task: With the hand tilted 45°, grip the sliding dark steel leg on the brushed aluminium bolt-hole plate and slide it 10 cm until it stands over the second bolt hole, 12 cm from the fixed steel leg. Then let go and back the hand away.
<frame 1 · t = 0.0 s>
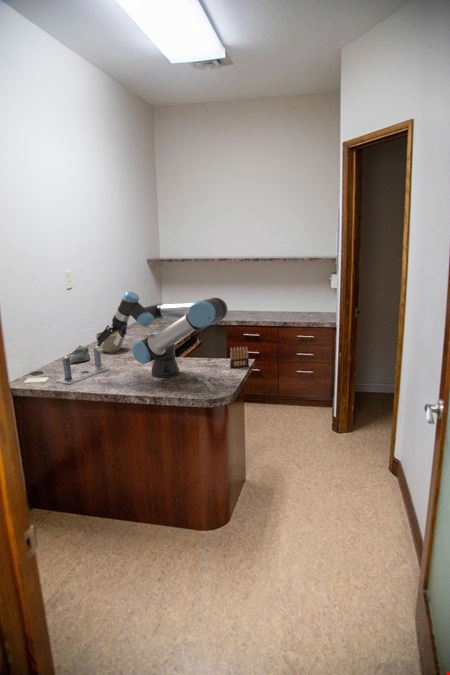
hand: (106, 347, 245), 15 cm above the worktop, tool tilted 35°, fingers open, 13 cm apart
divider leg: (97, 356, 255), point 8 cm above the worktop, slide at -10.0 cm
bolt plate: (84, 375, 248), on the worktop
flower pot: (111, 351, 298), on the worktop
ammunition clip: (239, 367, 254), on the worktop
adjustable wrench: (206, 386, 225), on the worktop
mineral rock: (79, 361, 275), on the worktop
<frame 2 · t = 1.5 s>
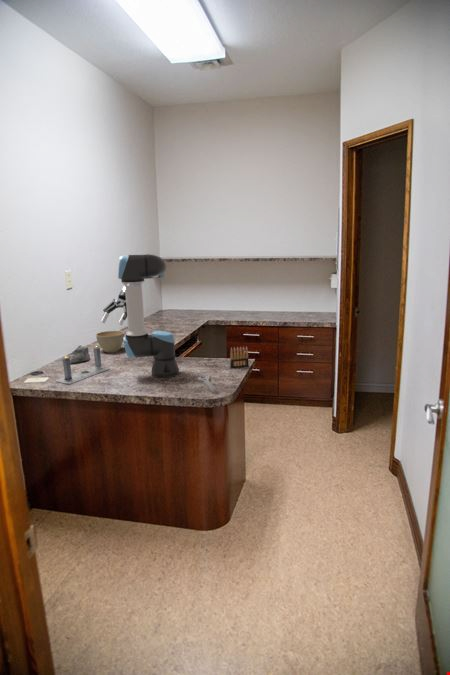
hand: (111, 323, 263), 25 cm above the worktop, tool tilted 45°, fingers open, 13 cm apart
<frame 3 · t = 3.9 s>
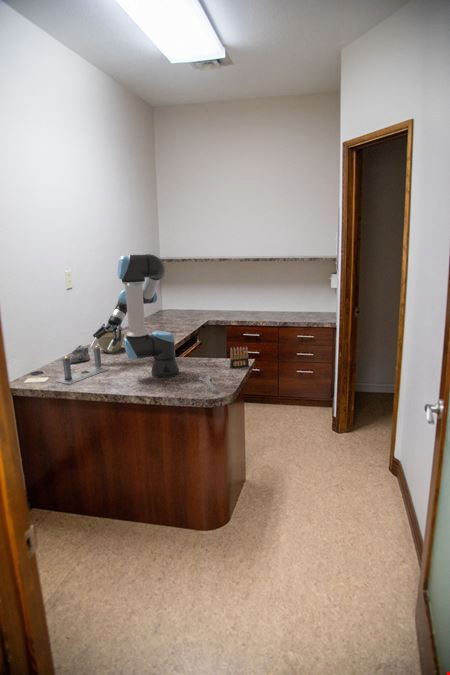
hand: (100, 349, 258), 11 cm above the worktop, tool tilted 45°, fingers open, 13 cm apart
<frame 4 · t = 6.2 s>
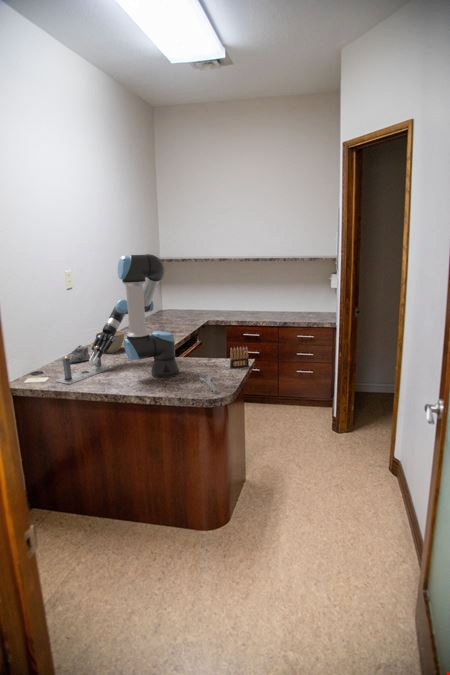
hand: (92, 361, 252), 6 cm above the worktop, tool tilted 45°, fingers closed on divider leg, 2 cm apart
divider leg: (97, 356, 255), point 8 cm above the worktop, slide at -10.0 cm, touching gripper
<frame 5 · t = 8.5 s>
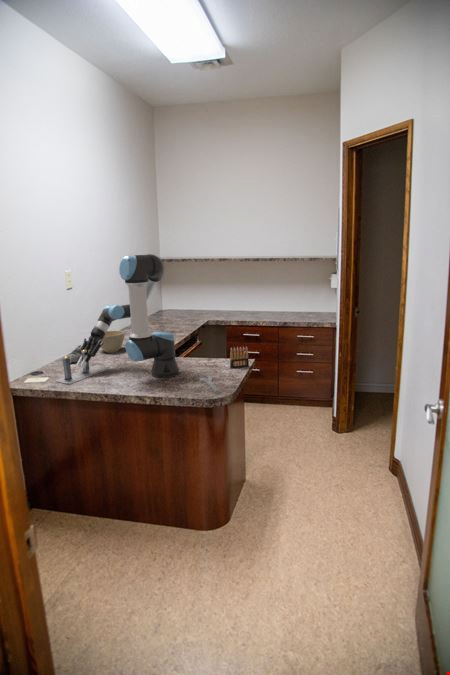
hand: (80, 366, 245), 6 cm above the worktop, tool tilted 45°, fingers closed on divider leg, 2 cm apart
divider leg: (85, 360, 247), point 8 cm above the worktop, slide at -0.8 cm, touching gripper
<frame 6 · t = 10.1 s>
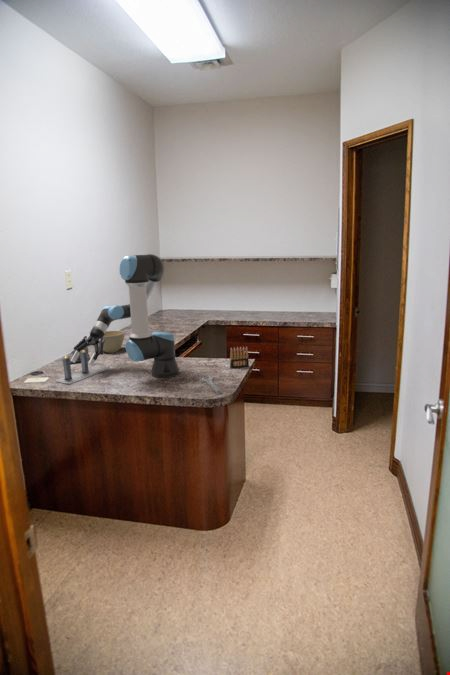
hand: (81, 363, 245), 7 cm above the worktop, tool tilted 45°, fingers open, 13 cm apart
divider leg: (84, 361, 247), point 8 cm above the worktop, slide at -0.1 cm
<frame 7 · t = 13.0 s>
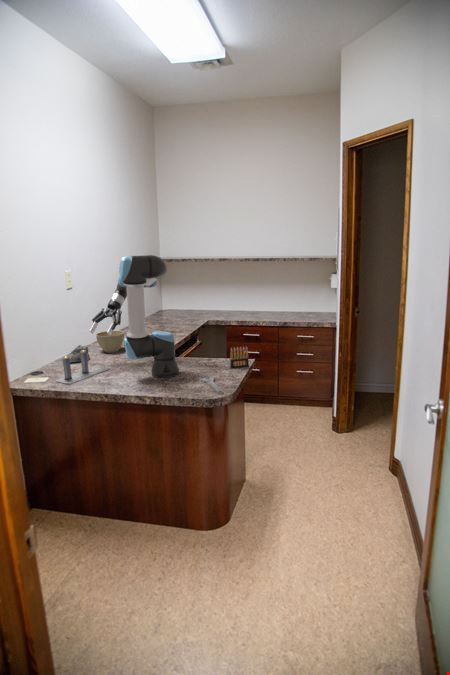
hand: (99, 333, 255), 21 cm above the worktop, tool tilted 45°, fingers open, 13 cm apart
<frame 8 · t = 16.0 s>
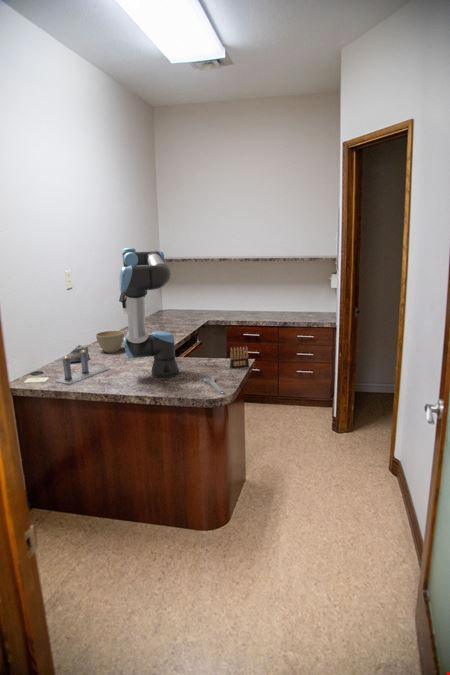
hand: (133, 311, 264), 31 cm above the worktop, tool pointing down, fingers open, 13 cm apart
at the end: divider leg slide at -0.1 cm; the gripper is holding nothing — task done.
